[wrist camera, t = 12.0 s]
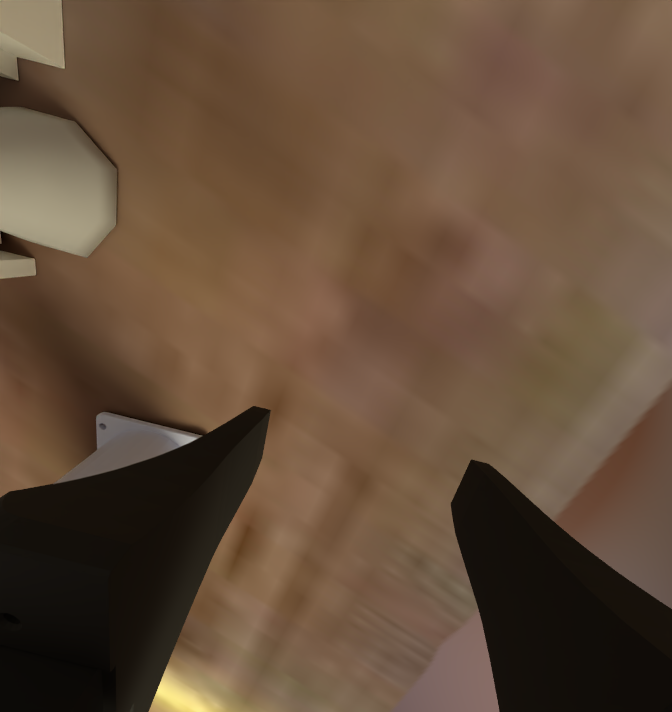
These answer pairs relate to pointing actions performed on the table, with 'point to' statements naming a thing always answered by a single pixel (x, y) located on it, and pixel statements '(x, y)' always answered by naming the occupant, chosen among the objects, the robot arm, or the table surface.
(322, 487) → the table surface
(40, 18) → the gauge frame
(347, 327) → the table surface
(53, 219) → the grey vase
